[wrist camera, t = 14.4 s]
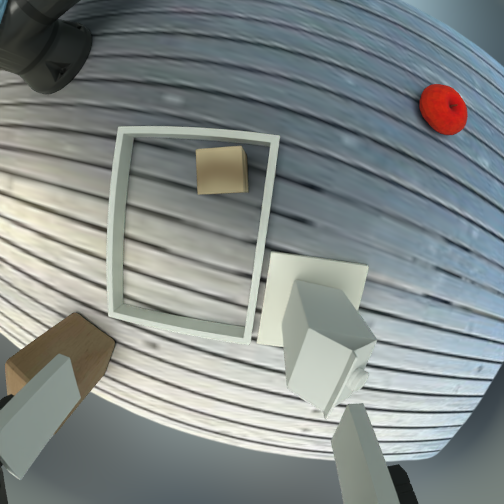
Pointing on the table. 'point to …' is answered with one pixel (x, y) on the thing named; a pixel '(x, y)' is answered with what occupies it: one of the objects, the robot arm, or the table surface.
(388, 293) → the table surface
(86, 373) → the wooden block
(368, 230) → the table surface
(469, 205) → the table surface
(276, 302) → the tile
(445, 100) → the apple
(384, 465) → the robot arm
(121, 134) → the rectangular frame
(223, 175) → the oak block
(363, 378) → the milk carton
